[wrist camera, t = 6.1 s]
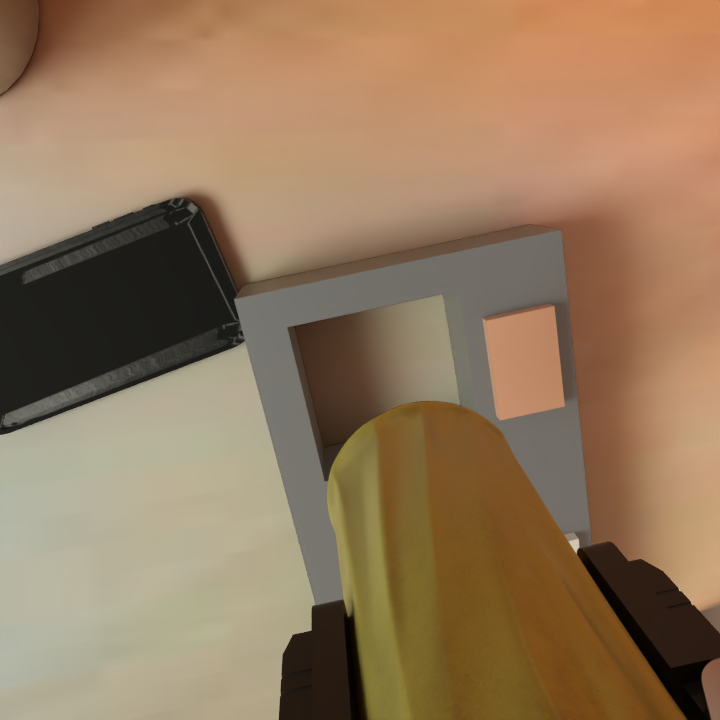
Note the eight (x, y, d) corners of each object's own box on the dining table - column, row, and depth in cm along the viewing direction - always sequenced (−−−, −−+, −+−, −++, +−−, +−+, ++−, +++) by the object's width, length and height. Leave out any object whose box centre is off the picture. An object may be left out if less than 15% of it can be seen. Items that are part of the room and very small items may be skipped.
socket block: (244, 284, 30) (232, 301, 26) (529, 224, 30) (566, 230, 26) (340, 656, 37) (344, 719, 33) (572, 604, 37) (607, 660, 33)
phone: (256, 338, 30) (-12, 441, 30) (258, 333, 31) (-1, 432, 32) (190, 188, 28) (-99, 301, 28) (194, 188, 29) (-84, 297, 29)
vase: (555, 471, 19) (1184, 1211, 5) (431, 601, 20) (687, 1498, 6) (413, 359, 17) (773, 982, 4) (287, 506, 18) (217, 1405, 5)
